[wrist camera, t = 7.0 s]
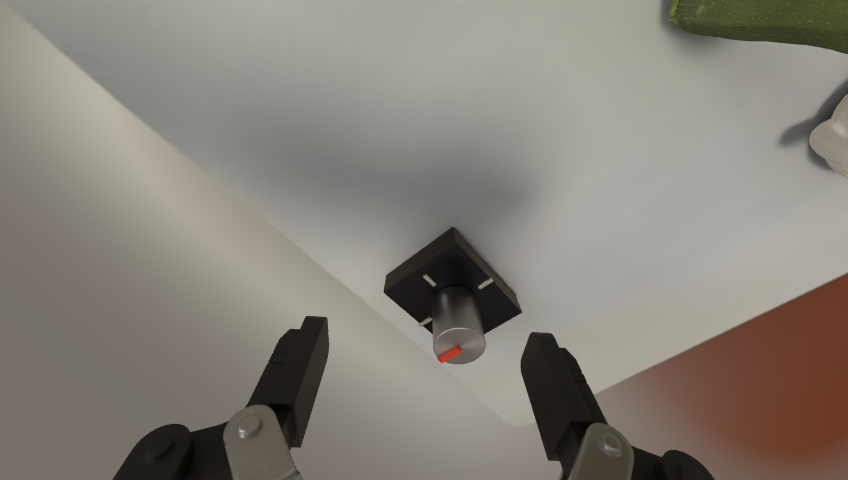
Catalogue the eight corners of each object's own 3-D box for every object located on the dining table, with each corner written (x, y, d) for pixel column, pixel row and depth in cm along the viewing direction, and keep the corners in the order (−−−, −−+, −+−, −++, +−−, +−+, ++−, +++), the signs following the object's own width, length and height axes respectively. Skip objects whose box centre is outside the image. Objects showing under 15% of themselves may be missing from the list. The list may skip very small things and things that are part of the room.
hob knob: (459, 277, 28) (465, 322, 23) (485, 305, 30) (496, 352, 25) (422, 300, 29) (422, 347, 25) (450, 326, 31) (454, 374, 26)
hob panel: (385, 276, 31) (382, 294, 29) (453, 225, 28) (456, 241, 26) (451, 333, 35) (452, 354, 33) (516, 294, 32) (523, 313, 30)
